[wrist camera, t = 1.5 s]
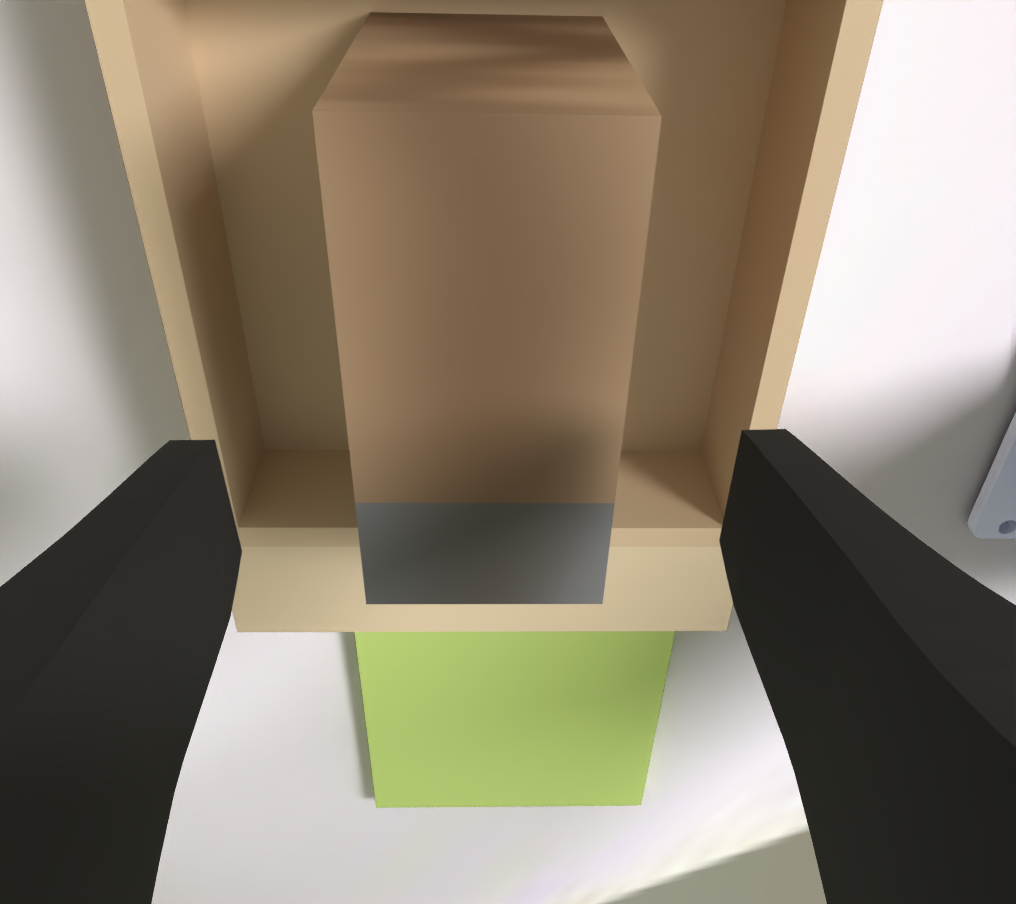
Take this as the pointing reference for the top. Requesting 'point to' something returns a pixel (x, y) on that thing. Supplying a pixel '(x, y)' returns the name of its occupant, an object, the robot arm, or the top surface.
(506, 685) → the mat
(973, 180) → the top surface
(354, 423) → the box
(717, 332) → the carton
